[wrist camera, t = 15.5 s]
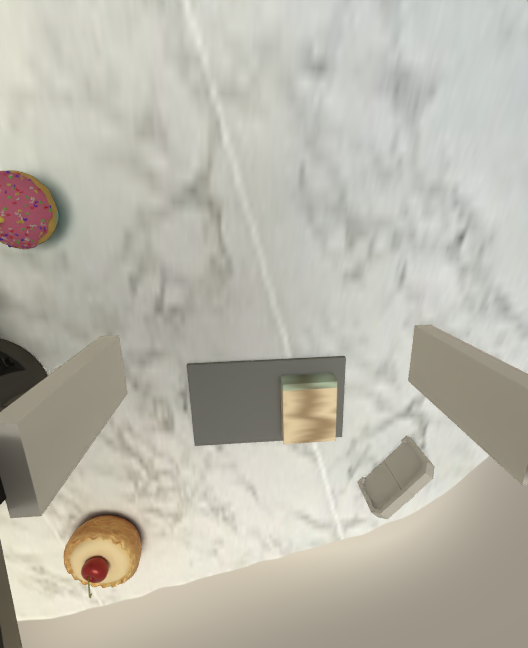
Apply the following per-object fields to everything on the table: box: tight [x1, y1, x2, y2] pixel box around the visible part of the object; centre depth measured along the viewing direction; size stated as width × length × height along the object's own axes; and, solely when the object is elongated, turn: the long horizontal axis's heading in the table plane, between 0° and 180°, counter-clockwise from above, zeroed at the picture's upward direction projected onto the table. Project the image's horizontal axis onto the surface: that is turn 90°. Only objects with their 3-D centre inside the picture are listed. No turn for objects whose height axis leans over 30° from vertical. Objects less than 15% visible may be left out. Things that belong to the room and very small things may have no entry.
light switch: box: [358, 436, 434, 519], centre depth 53 cm, size 2×12×8 cm, turn 140°
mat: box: [187, 356, 346, 446], centre depth 51 cm, size 24×14×1 cm, turn 91°
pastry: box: [64, 515, 141, 598], centre depth 53 cm, size 12×12×9 cm
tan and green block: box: [280, 373, 337, 444], centre depth 50 cm, size 8×3×10 cm
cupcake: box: [0, 171, 59, 249], centre depth 36 cm, size 9×8×12 cm
